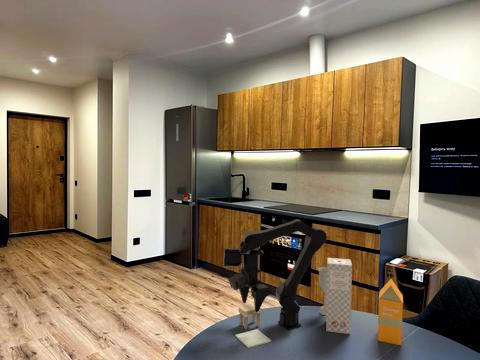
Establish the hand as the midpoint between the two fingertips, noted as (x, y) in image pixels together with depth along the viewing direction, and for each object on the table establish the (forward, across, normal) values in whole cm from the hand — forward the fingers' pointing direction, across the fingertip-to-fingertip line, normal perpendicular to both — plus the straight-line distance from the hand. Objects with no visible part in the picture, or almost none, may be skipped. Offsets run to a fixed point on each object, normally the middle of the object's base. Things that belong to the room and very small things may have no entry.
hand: (250, 307), depth 127 cm
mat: (+7, +9, -4) cm, 12 cm away
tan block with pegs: (+7, 0, 0) cm, 7 cm away
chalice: (+7, +4, +34) cm, 35 cm away
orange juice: (+8, +30, +40) cm, 50 cm away
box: (+8, +16, +29) cm, 34 cm away
